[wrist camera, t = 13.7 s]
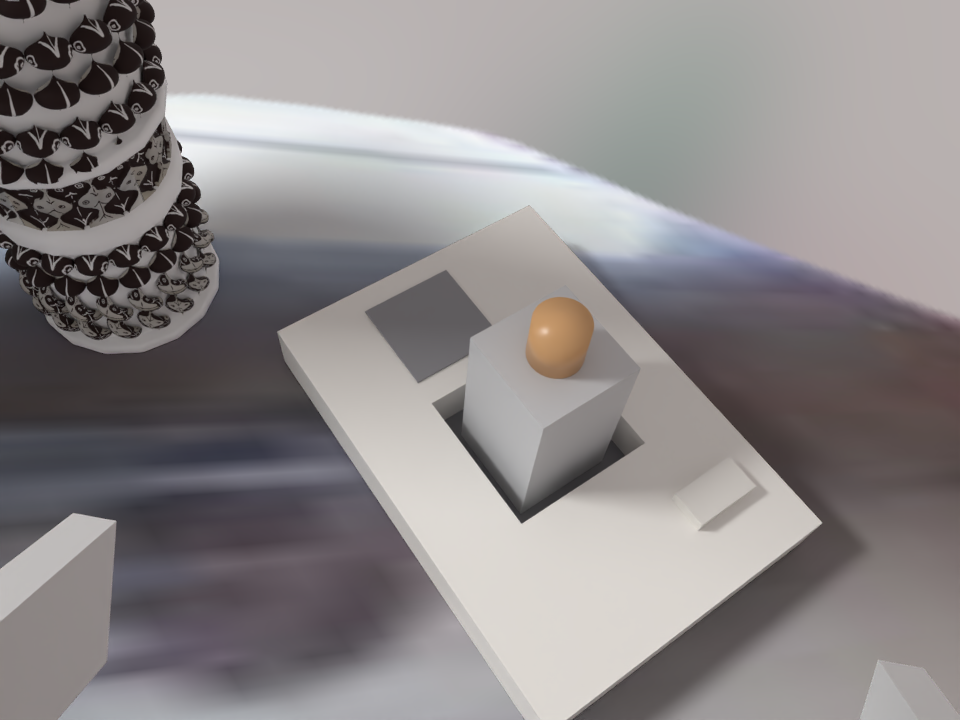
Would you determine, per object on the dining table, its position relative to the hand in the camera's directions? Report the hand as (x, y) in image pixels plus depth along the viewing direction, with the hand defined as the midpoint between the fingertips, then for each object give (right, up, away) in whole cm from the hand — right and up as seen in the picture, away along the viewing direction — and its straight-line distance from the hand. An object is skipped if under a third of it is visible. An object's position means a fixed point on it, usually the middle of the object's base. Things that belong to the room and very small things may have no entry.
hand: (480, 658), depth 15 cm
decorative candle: (-17, +9, +27) cm, 34 cm away
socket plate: (+2, +1, +24) cm, 24 cm away
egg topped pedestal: (+2, +1, +24) cm, 24 cm away
